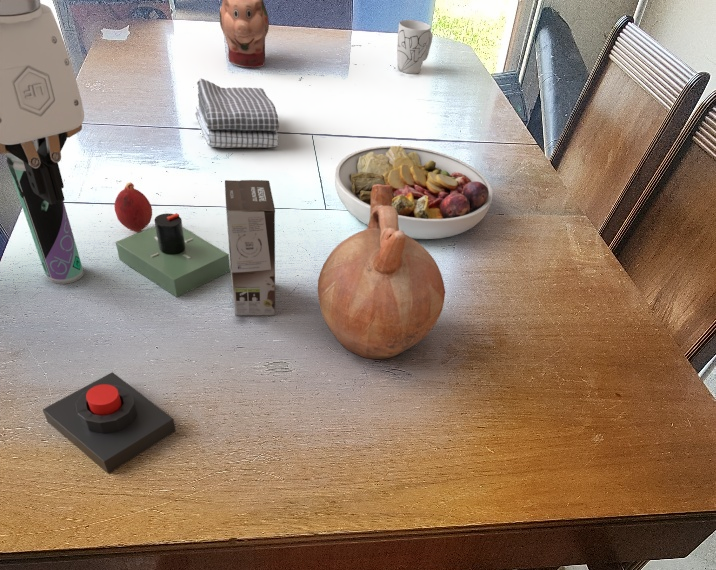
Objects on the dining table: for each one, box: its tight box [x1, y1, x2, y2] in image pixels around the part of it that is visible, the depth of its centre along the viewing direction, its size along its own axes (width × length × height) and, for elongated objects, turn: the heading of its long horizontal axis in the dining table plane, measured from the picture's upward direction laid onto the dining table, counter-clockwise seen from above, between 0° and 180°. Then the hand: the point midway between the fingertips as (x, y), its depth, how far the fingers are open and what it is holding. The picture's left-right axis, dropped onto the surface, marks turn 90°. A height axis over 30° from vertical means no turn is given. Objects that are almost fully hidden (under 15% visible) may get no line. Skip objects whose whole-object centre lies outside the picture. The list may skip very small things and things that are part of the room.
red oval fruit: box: [113, 181, 153, 233], centre depth 100 cm, size 6×6×8 cm
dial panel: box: [115, 225, 231, 298], centre depth 96 cm, size 14×11×3 cm
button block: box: [42, 371, 177, 475], centre depth 74 cm, size 12×10×4 cm
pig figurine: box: [219, 0, 270, 68], centre depth 152 cm, size 20×12×14 cm, turn 10°
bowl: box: [334, 145, 493, 240], centre depth 115 cm, size 30×30×8 cm
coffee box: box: [224, 179, 276, 316], centre depth 88 cm, size 9×6×16 cm
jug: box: [317, 184, 446, 360], centre depth 84 cm, size 18×18×20 cm
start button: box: [86, 384, 121, 416], centre depth 72 cm, size 4×4×2 cm
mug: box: [396, 19, 433, 75], centre depth 163 cm, size 11×8×10 cm
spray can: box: [4, 140, 84, 285], centre depth 86 cm, size 6×6×20 cm
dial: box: [154, 212, 185, 254], centre depth 93 cm, size 4×4×5 cm
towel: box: [195, 78, 280, 149], centre depth 127 cm, size 15×18×8 cm
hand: (50, 197), depth 68 cm, fingers closed
